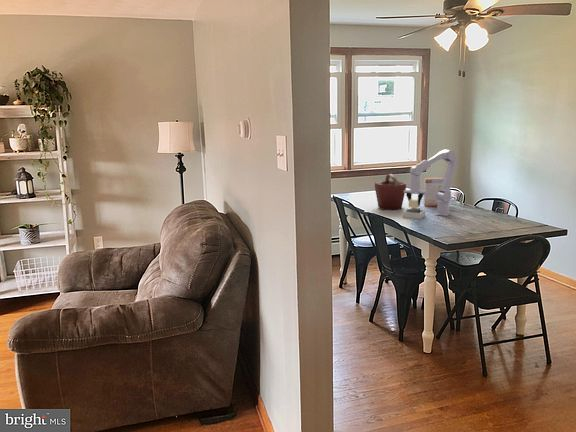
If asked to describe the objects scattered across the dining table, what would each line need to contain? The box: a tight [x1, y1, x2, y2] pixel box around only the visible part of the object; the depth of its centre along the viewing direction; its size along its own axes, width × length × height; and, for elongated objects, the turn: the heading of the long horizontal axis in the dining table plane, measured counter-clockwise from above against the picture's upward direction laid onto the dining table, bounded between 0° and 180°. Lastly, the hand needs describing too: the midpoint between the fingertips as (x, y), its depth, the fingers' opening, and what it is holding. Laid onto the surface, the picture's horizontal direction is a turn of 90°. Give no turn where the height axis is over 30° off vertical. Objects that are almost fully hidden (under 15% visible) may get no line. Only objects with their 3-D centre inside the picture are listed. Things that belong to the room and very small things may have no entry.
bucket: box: [374, 173, 407, 211], centre depth 348 cm, size 24×22×25 cm
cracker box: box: [423, 177, 444, 207], centre depth 353 cm, size 14×6×21 cm, turn 84°
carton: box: [408, 197, 421, 209], centre depth 318 cm, size 8×6×5 cm
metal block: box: [408, 207, 421, 213], centre depth 319 cm, size 8×6×5 cm
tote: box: [402, 208, 426, 220], centre depth 320 cm, size 11×12×4 cm
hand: (414, 204), depth 318 cm, fingers closed on carton, 5 cm apart
